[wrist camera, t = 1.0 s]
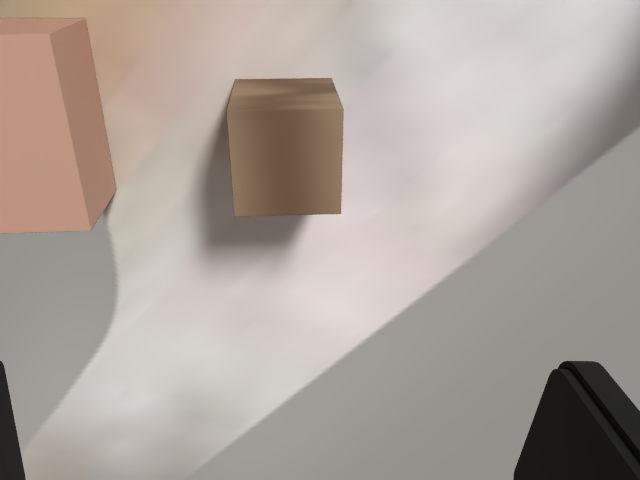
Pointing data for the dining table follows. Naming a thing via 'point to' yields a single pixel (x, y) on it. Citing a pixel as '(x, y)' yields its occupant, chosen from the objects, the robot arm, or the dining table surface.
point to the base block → (51, 128)
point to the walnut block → (285, 146)
